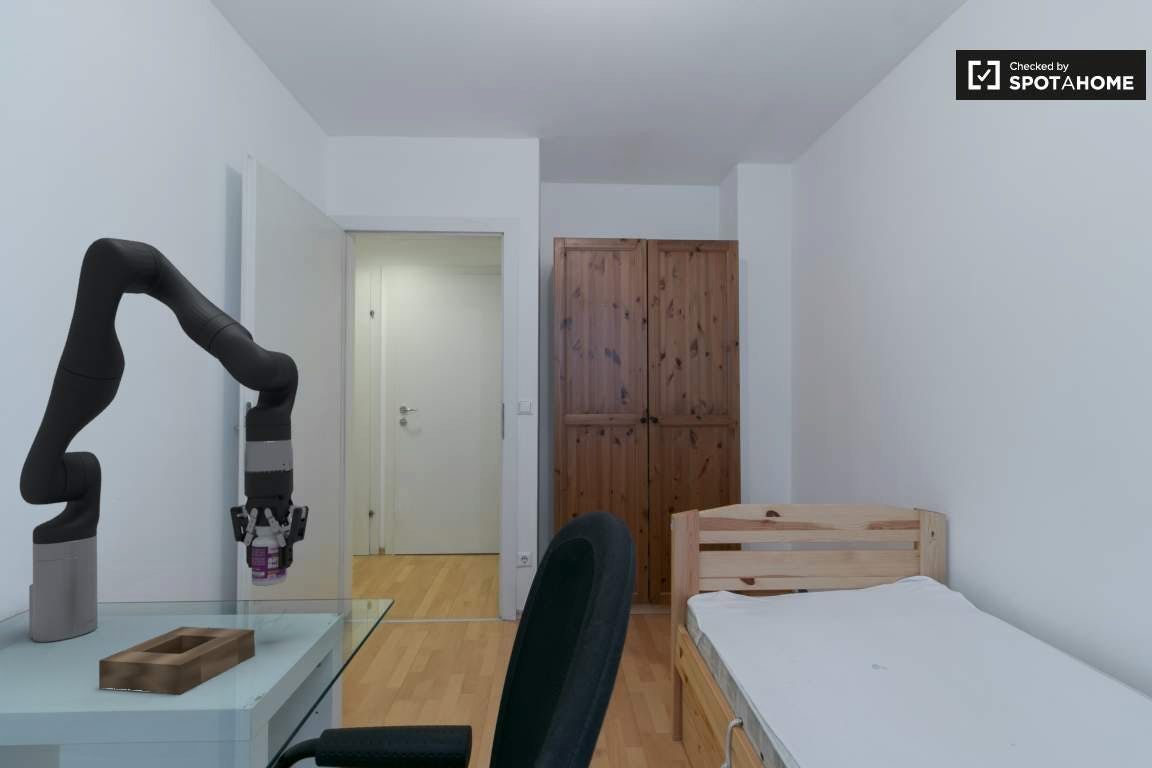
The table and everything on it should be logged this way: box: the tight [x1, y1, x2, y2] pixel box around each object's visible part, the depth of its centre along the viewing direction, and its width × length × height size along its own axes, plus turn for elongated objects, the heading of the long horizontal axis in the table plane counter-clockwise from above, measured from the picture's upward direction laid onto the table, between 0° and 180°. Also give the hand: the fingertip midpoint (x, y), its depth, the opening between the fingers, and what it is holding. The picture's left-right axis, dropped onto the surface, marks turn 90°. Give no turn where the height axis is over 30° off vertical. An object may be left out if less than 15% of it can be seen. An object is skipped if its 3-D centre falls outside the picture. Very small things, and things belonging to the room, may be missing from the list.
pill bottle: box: [251, 525, 288, 587], centre depth 105 cm, size 5×5×10 cm
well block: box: [98, 626, 256, 695], centre depth 94 cm, size 14×14×4 cm
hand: (269, 567), depth 105 cm, fingers closed on pill bottle, 5 cm apart
